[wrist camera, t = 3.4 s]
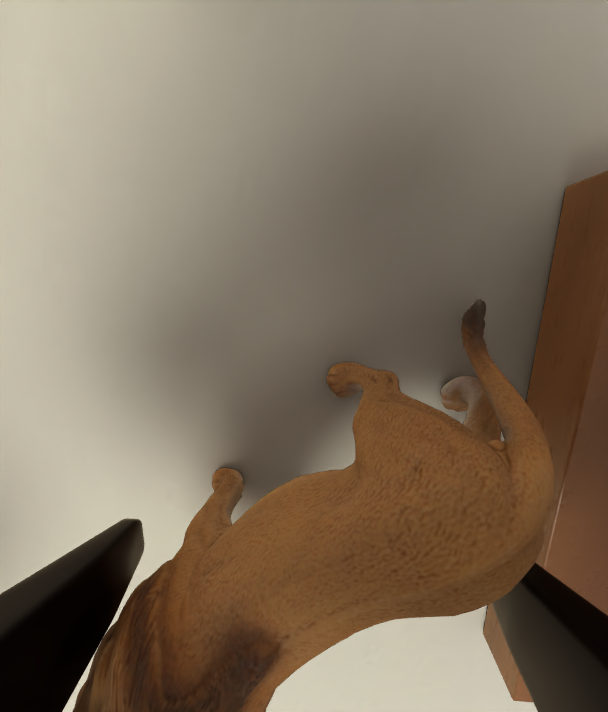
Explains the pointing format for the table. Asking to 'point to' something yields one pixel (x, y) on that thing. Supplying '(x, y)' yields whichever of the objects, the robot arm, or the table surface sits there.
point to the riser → (572, 409)
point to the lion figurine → (338, 546)
